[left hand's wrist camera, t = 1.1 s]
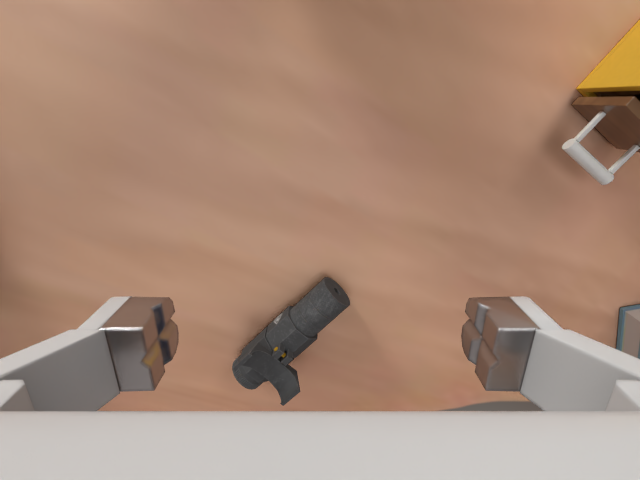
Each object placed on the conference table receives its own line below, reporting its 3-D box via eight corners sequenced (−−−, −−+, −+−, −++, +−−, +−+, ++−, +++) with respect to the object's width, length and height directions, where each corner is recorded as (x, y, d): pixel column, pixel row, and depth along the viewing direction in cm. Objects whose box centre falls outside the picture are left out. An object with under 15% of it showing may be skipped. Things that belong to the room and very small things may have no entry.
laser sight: (357, 300, 59) (364, 337, 50) (267, 379, 65) (258, 426, 55) (314, 262, 57) (312, 294, 47) (224, 348, 62) (207, 391, 53)
